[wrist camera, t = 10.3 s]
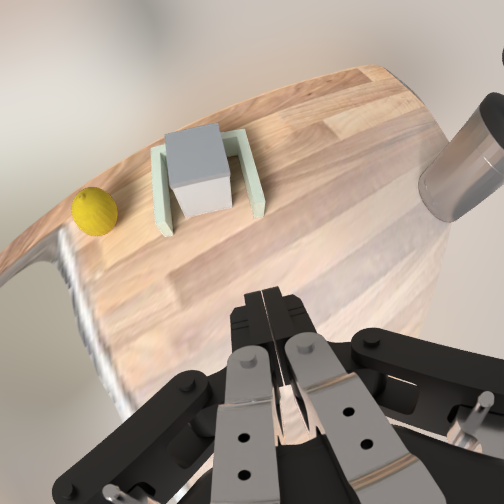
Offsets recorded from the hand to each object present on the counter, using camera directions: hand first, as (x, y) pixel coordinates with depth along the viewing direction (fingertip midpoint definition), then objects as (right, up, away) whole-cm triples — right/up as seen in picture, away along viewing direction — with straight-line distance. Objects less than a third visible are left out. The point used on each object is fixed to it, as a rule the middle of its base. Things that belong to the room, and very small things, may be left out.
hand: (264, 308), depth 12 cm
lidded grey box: (-7, +11, +24) cm, 27 cm away
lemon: (-20, +6, +22) cm, 30 cm away
